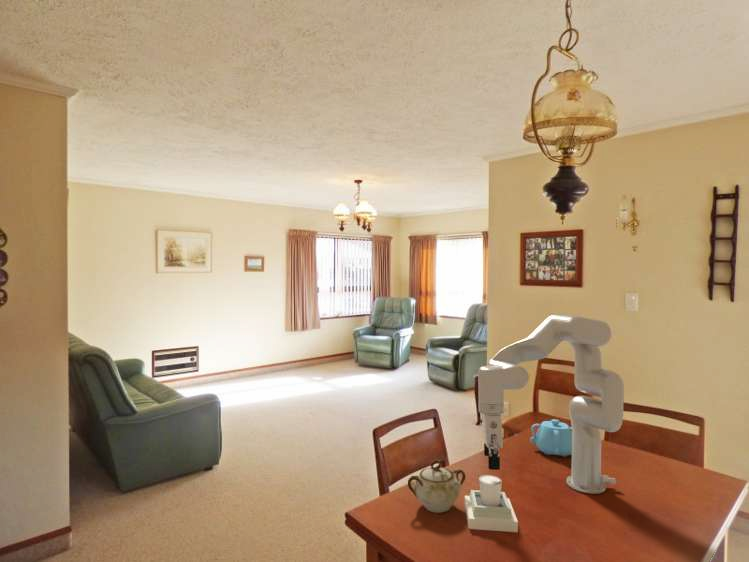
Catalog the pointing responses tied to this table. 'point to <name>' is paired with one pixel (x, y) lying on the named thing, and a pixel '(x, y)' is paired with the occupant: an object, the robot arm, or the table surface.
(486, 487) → the white short cylinder
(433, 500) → the sugar bowl
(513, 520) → the stand
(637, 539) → the table surface
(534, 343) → the robot arm
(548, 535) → the table surface
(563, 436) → the decorative pot
